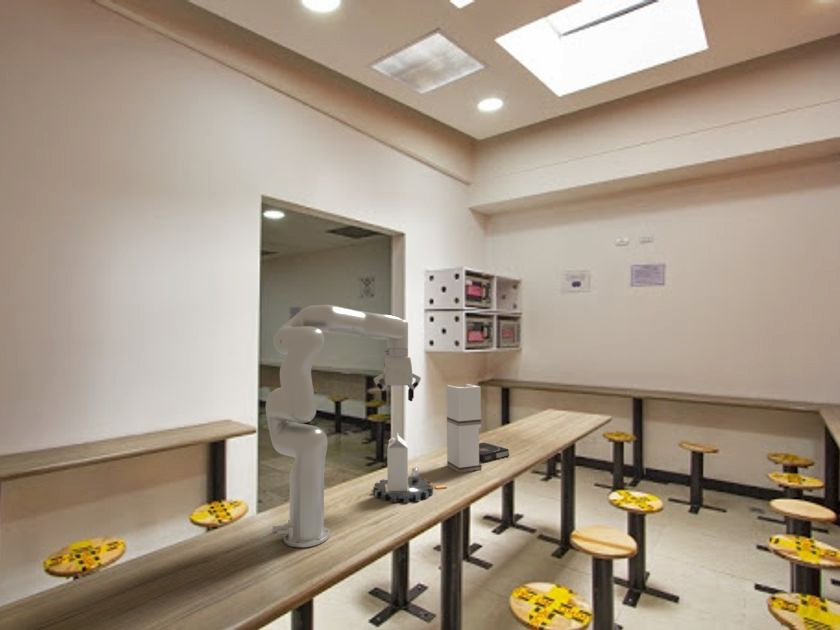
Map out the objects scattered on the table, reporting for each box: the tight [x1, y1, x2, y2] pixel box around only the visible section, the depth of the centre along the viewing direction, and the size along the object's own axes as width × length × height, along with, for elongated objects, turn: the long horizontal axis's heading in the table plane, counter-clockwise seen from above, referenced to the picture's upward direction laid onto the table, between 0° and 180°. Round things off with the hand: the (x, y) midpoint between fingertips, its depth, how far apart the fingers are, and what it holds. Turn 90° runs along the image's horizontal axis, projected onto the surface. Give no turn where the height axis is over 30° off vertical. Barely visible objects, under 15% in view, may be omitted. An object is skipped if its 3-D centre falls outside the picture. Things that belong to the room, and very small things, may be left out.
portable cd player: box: [479, 442, 510, 464], centre depth 214 cm, size 16×17×4 cm
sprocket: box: [372, 467, 434, 503], centre depth 166 cm, size 22×22×6 cm
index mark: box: [434, 484, 448, 490], centre depth 170 cm, size 4×2×1 cm, turn 108°
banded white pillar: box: [446, 383, 483, 473], centre depth 196 cm, size 11×11×35 cm
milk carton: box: [386, 433, 409, 491], centre depth 163 cm, size 7×7×19 cm
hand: (397, 401), depth 163 cm, fingers open, 9 cm apart
